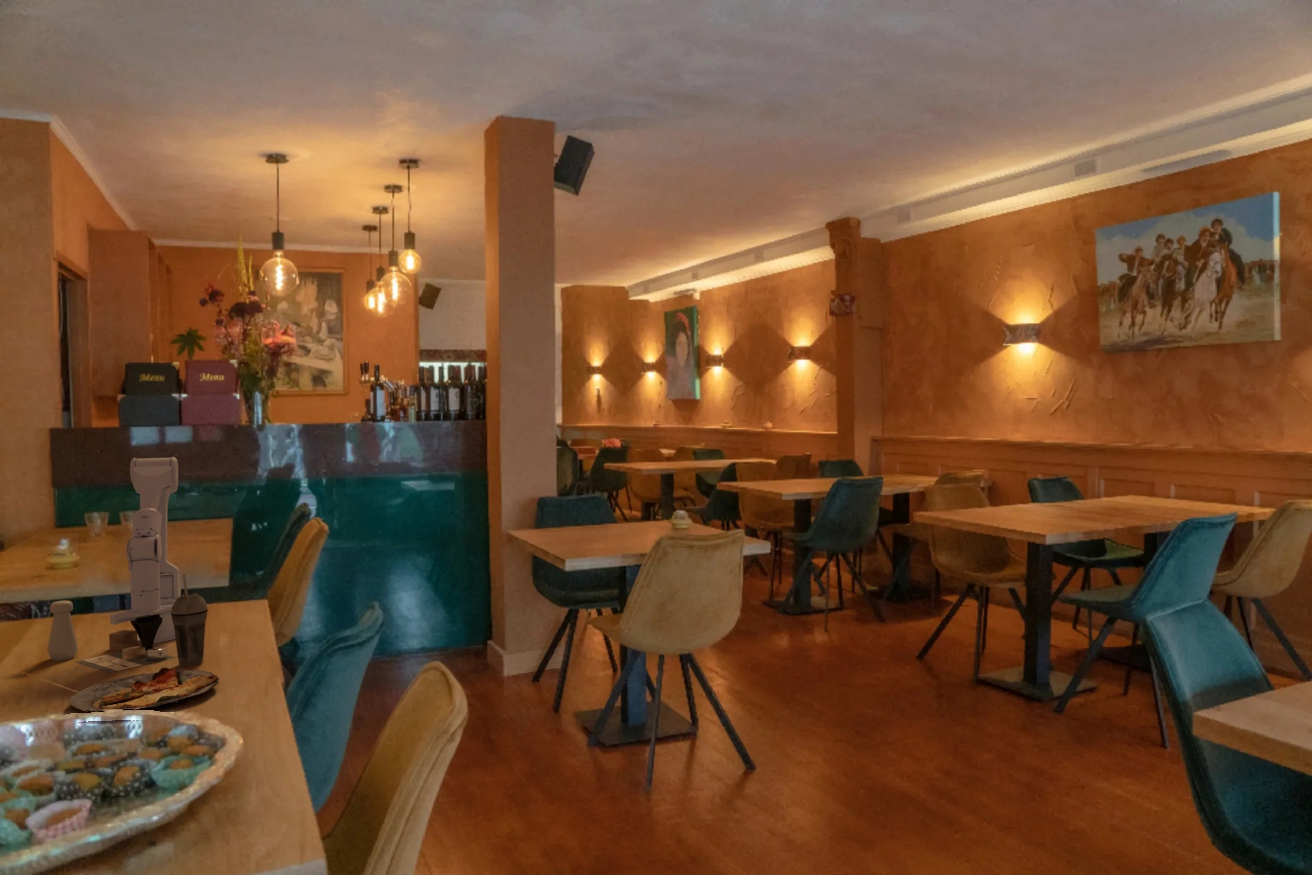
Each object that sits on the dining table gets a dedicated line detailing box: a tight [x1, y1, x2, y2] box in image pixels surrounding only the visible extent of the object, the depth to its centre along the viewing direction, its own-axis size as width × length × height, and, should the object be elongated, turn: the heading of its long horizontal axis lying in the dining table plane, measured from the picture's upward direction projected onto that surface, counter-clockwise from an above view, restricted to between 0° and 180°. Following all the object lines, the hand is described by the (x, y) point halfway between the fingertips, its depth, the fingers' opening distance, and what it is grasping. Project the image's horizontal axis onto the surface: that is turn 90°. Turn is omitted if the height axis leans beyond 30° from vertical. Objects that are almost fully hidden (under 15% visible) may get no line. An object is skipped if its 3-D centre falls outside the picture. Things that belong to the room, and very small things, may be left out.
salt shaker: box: [46, 600, 79, 662], centre depth 205 cm, size 6×6×13 cm
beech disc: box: [121, 645, 145, 660], centre depth 204 cm, size 4×4×2 cm
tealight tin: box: [147, 646, 168, 662], centre depth 203 cm, size 4×4×2 cm
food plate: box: [68, 666, 220, 712], centre depth 175 cm, size 25×23×4 cm
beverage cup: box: [171, 573, 209, 668], centre depth 198 cm, size 7×7×20 cm
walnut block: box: [108, 629, 139, 651], centre depth 214 cm, size 4×4×4 cm
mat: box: [75, 651, 178, 674], centre depth 203 cm, size 14×16×1 cm
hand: (147, 649), depth 207 cm, fingers closed
